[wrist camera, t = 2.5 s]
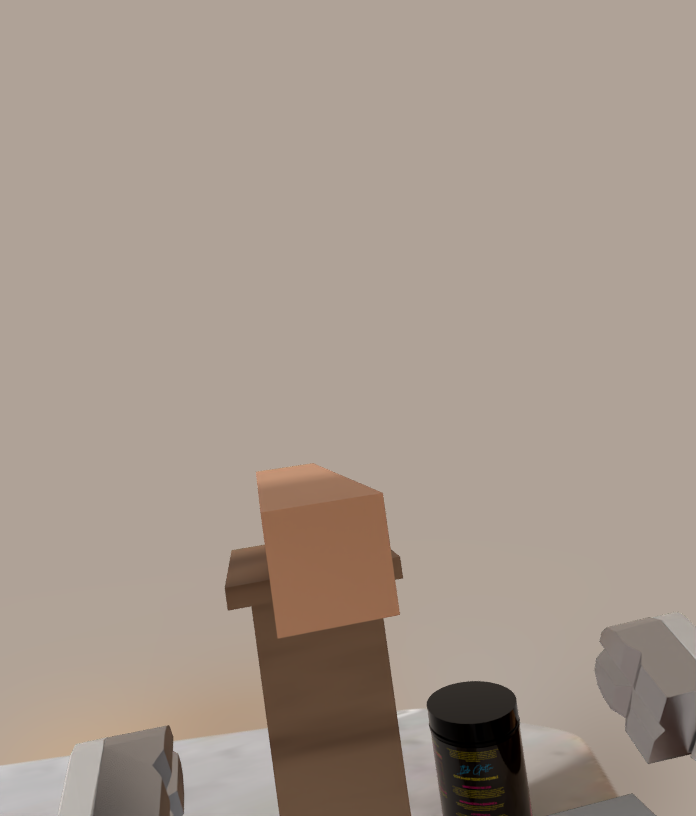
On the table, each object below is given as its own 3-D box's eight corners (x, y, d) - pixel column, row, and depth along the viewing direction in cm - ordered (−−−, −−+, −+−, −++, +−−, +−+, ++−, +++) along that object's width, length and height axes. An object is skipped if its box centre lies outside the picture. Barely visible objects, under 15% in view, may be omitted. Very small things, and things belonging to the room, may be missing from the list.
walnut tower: (500, 1154, 26) (416, 559, 27) (295, 1226, 25) (211, 595, 26) (428, 944, 37) (369, 524, 38) (282, 987, 36) (223, 548, 36)
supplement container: (553, 862, 42) (531, 713, 43) (460, 883, 42) (438, 731, 42) (516, 803, 49) (498, 675, 49) (436, 820, 48) (417, 690, 49)
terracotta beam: (399, 614, 20) (382, 492, 20) (277, 638, 19) (260, 512, 19) (320, 519, 42) (313, 463, 43) (263, 529, 42) (255, 471, 42)
